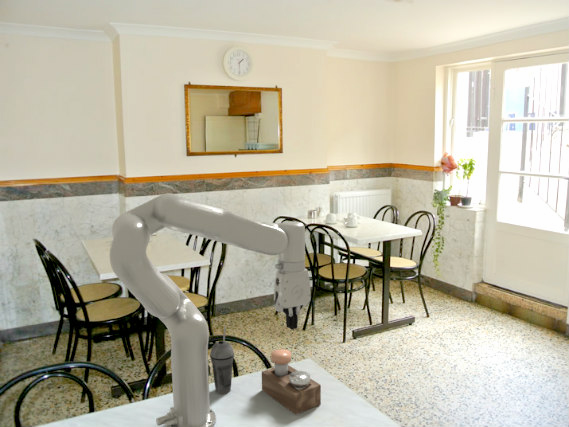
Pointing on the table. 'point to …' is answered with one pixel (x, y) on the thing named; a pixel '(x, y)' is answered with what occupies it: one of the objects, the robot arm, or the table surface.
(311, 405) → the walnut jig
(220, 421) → the table surface
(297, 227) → the robot arm
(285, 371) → the peach domed piece
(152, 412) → the table surface
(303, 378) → the steel plug
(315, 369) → the table surface
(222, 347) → the beverage cup
